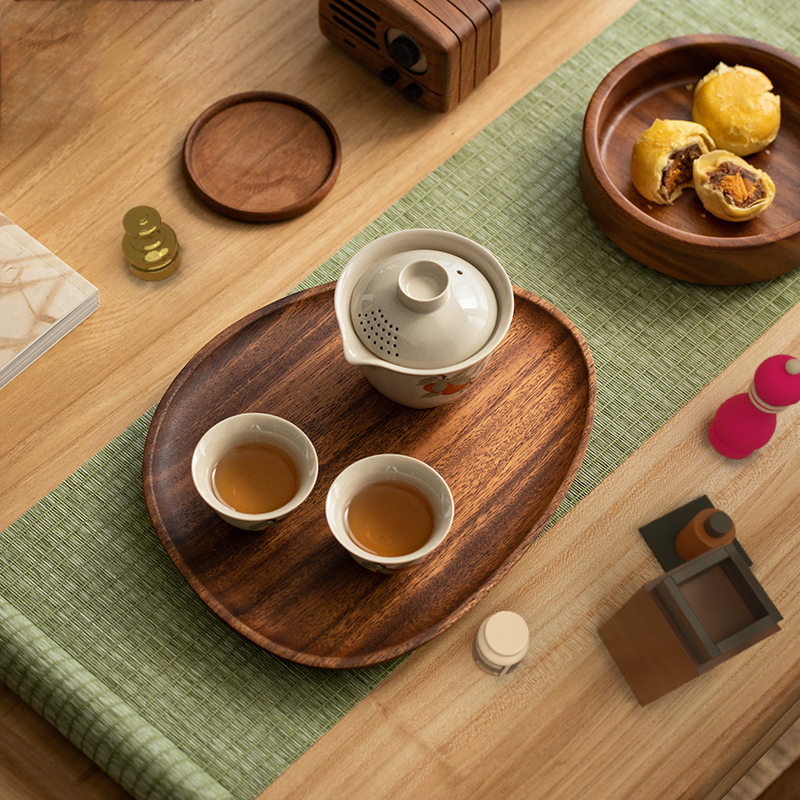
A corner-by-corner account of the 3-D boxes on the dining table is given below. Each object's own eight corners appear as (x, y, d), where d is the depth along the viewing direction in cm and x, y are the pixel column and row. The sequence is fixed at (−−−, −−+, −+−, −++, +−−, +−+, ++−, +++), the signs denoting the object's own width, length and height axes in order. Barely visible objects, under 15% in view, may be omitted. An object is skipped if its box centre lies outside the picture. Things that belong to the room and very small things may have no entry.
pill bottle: (512, 621, 108) (525, 600, 99) (527, 670, 105) (541, 652, 96) (465, 633, 107) (474, 612, 98) (478, 682, 104) (489, 665, 95)
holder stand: (664, 594, 110) (733, 533, 89) (711, 668, 106) (795, 622, 85) (596, 630, 107) (651, 576, 87) (642, 707, 104) (710, 669, 83)
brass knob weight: (159, 229, 131) (145, 183, 122) (193, 261, 128) (180, 216, 120) (117, 259, 128) (99, 213, 119) (150, 291, 126) (134, 248, 117)
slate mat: (704, 495, 116) (705, 494, 115) (752, 565, 112) (753, 563, 111) (637, 529, 113) (639, 527, 113) (684, 601, 109) (686, 600, 109)
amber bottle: (699, 521, 113) (725, 495, 105) (722, 555, 111) (750, 531, 103) (667, 537, 112) (691, 512, 104) (690, 572, 110) (716, 549, 102)
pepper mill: (770, 435, 120) (842, 361, 102) (741, 474, 117) (809, 404, 99) (723, 402, 122) (785, 322, 104) (693, 439, 119) (752, 364, 101)
